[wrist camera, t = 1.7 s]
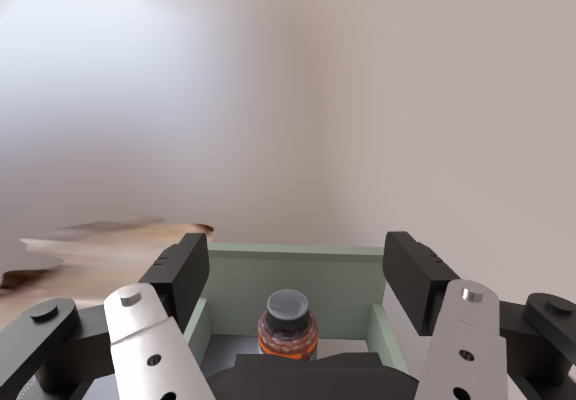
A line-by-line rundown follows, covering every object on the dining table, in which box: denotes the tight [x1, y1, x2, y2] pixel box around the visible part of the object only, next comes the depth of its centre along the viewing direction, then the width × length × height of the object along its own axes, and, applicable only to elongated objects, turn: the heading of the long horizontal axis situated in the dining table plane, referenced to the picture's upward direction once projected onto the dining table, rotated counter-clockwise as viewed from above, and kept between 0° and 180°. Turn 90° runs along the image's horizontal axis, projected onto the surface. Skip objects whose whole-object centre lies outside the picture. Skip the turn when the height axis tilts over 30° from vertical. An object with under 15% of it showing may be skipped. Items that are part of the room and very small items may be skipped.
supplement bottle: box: [258, 289, 318, 362], centre depth 27 cm, size 6×6×11 cm
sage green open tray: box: [183, 242, 411, 376], centre depth 27 cm, size 14×22×13 cm, turn 88°
